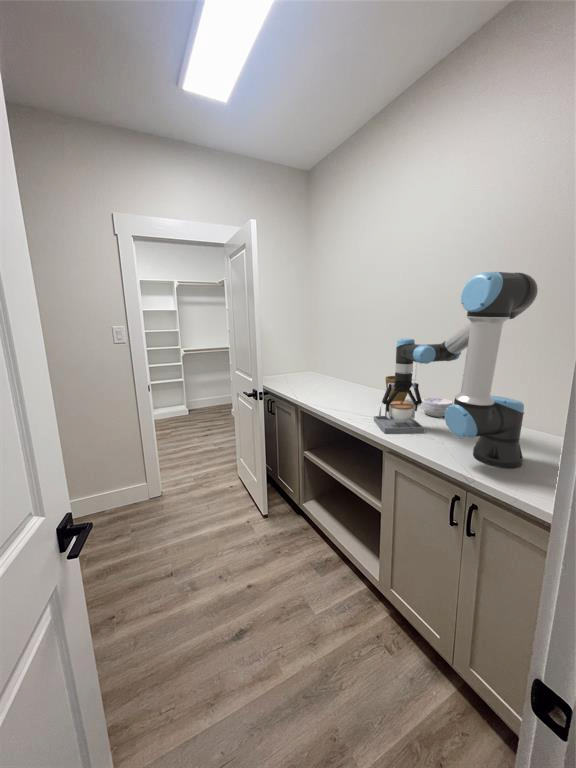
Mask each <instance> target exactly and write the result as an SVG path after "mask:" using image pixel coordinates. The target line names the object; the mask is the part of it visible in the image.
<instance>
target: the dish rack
mask: <svg viewBox="0 0 576 768" xmlns="http://www.w3.org/2000/svg"><path fill="white" fill-rule="evenodd" d="M384 406H385V408H384V409H385V410H384V415H382V403H379V408H378V410H379V411H378V412H379V413H378V415H374V416H373V422H374V423H375V424H376V425H377V426H378V427H377V428H379V429H380V431H381V432H383V434H385V435H387V434H425V427H424V426H423V425H422V424H421V423H419V422H418V421H417V420H416V419H413V418H412V417H410V419H408V420H407V421H406V422H399V421H395V420H394V418H393V417H392V416H391V419H388V418H387V411H386V404H384Z"/></svg>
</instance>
